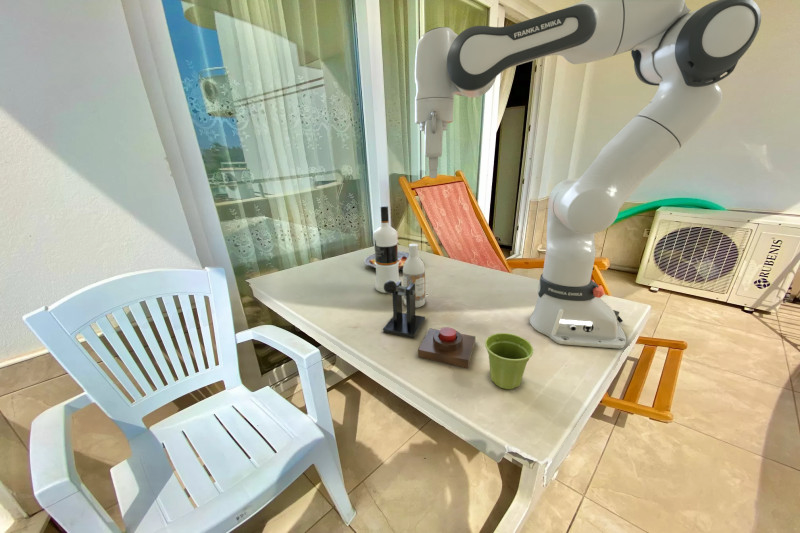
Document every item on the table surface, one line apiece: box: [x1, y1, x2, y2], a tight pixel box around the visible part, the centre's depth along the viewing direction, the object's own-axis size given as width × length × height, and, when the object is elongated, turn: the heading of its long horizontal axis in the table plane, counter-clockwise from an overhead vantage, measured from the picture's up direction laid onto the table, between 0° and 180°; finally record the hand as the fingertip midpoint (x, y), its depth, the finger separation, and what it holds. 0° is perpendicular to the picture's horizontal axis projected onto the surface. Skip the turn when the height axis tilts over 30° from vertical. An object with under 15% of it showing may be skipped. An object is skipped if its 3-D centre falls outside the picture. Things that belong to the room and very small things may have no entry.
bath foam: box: [402, 243, 426, 309], centre depth 96 cm, size 7×7×20 cm
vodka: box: [372, 205, 401, 294], centre depth 105 cm, size 9×9×30 cm
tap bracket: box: [382, 280, 426, 339], centre depth 84 cm, size 10×9×13 cm
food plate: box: [364, 250, 423, 272], centre depth 134 cm, size 25×23×4 cm
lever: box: [384, 280, 408, 297], centre depth 78 cm, size 13×3×3 cm, turn 158°
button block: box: [417, 327, 476, 369], centre depth 75 cm, size 12×10×4 cm
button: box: [439, 326, 457, 342], centre depth 74 cm, size 4×4×2 cm
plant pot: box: [484, 332, 534, 390], centre depth 64 cm, size 9×9×9 cm
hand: (433, 176), depth 76 cm, fingers open, 8 cm apart
